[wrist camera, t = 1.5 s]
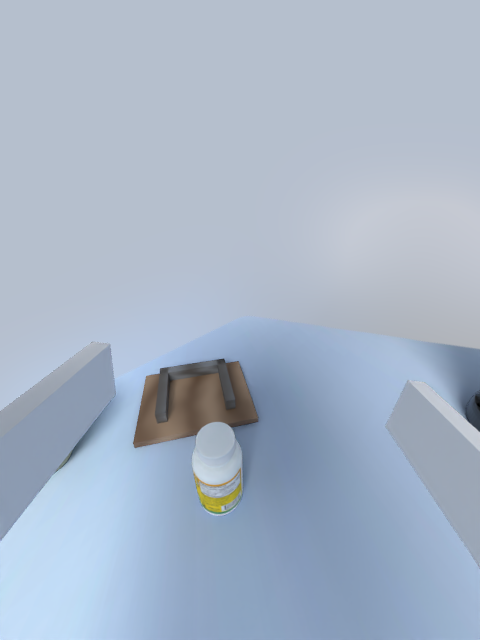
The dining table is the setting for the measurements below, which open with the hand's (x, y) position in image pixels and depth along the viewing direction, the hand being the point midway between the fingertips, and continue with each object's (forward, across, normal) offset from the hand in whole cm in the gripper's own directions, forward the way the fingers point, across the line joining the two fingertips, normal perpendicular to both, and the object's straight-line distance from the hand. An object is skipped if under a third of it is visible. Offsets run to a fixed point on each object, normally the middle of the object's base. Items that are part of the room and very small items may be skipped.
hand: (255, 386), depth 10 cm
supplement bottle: (+9, -1, -23) cm, 25 cm away
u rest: (+23, -6, -22) cm, 33 cm away
